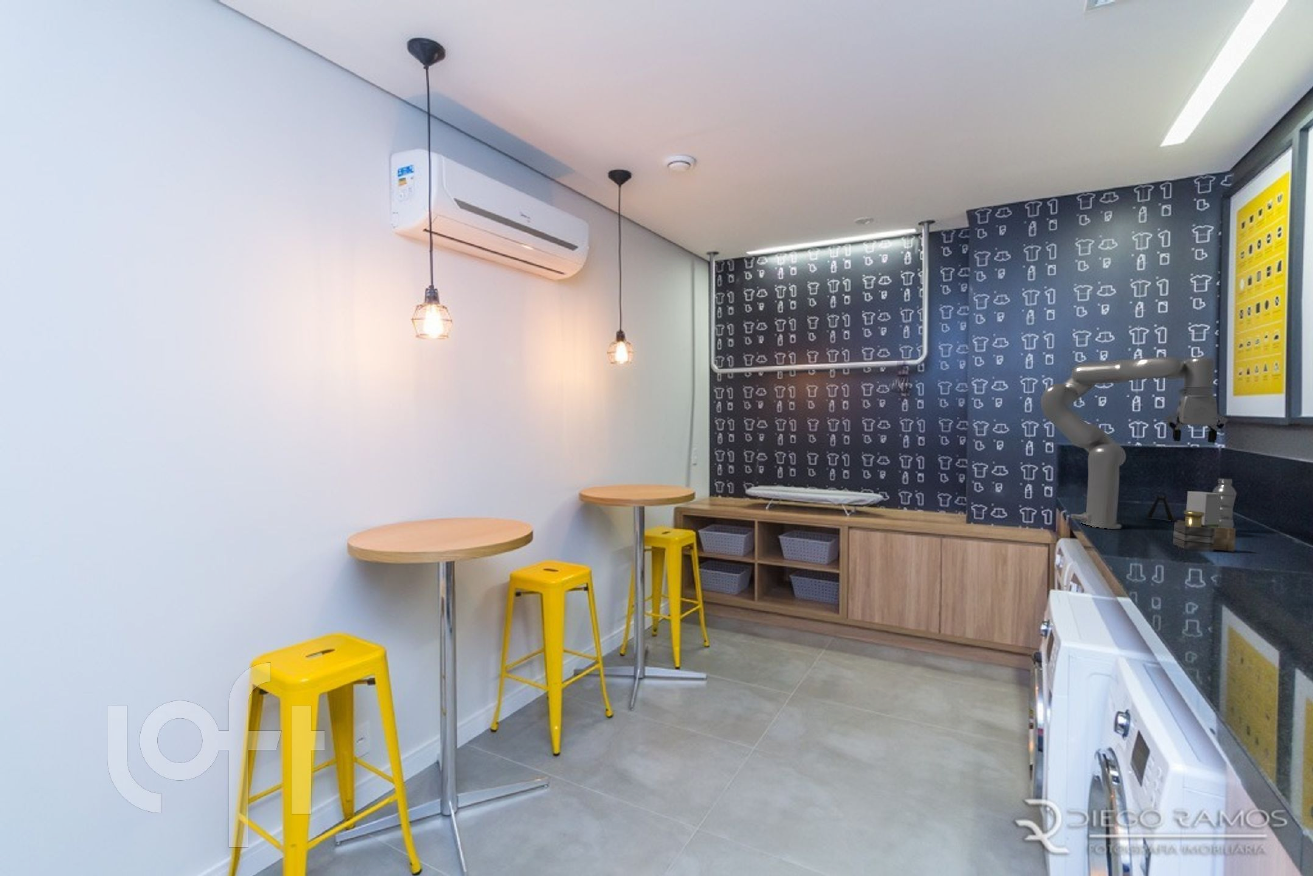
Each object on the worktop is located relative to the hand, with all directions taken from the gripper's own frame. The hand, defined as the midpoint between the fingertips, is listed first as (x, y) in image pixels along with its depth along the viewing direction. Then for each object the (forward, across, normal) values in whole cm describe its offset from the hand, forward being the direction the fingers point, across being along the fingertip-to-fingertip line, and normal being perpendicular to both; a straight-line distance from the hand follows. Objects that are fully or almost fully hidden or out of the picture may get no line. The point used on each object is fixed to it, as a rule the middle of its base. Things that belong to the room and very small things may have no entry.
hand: (1194, 441), depth 208 cm
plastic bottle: (+34, +20, +24) cm, 47 cm away
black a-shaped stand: (+34, +8, +43) cm, 56 cm away
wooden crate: (+34, -3, -19) cm, 39 cm away
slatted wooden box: (+34, -6, -16) cm, 38 cm away
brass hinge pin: (+34, -6, -19) cm, 40 cm away
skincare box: (+34, +9, +12) cm, 38 cm away
